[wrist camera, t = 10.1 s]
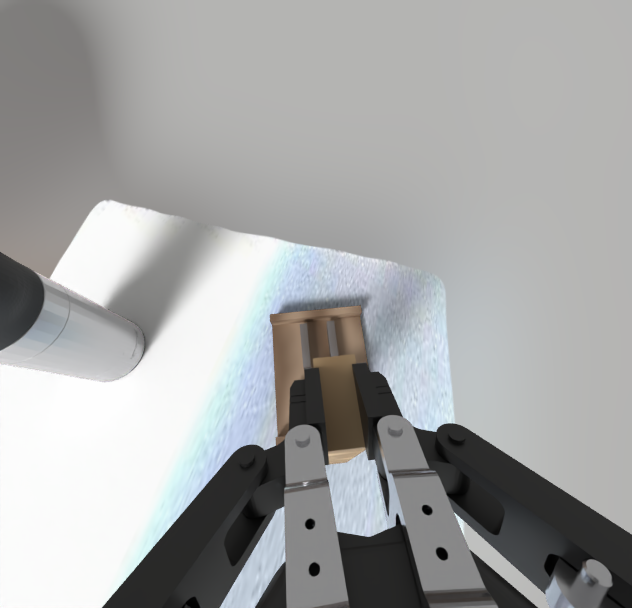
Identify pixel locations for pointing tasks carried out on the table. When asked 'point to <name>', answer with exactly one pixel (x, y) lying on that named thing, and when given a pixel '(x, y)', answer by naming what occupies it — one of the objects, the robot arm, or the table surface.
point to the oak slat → (340, 408)
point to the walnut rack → (310, 348)
